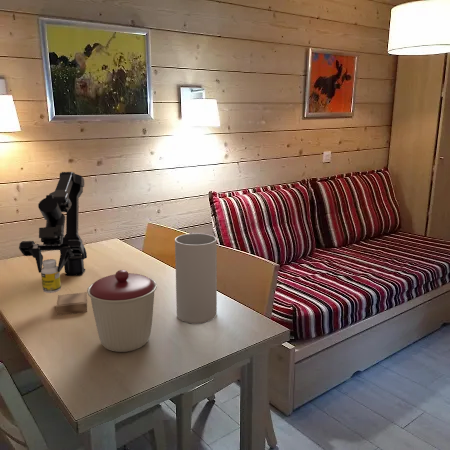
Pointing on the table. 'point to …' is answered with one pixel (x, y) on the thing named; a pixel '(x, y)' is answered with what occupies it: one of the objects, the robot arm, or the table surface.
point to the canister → (123, 310)
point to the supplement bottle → (50, 276)
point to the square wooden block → (71, 303)
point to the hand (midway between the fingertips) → (49, 271)
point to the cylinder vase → (196, 277)
